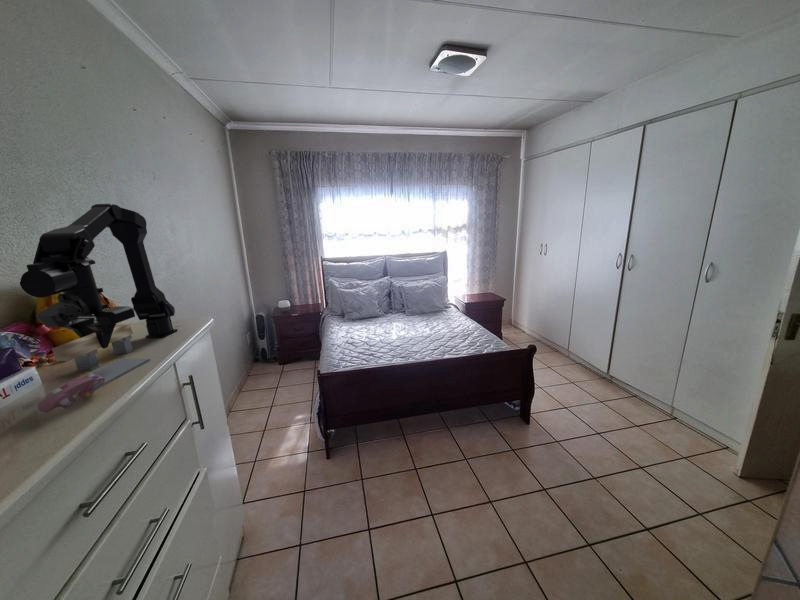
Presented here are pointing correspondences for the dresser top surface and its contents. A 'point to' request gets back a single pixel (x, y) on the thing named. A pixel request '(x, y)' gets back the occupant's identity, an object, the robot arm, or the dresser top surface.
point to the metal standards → (90, 359)
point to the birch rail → (88, 343)
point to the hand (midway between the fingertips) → (99, 347)
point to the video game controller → (71, 392)
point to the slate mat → (118, 368)
